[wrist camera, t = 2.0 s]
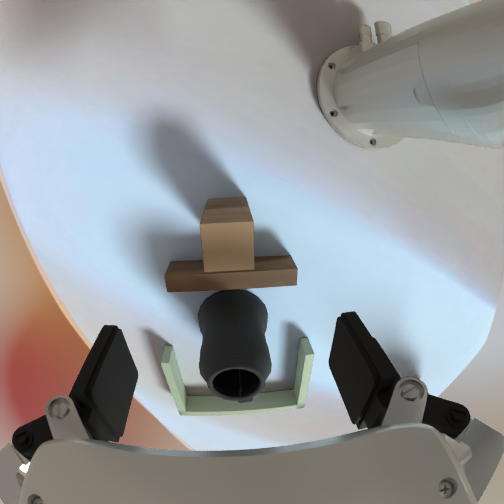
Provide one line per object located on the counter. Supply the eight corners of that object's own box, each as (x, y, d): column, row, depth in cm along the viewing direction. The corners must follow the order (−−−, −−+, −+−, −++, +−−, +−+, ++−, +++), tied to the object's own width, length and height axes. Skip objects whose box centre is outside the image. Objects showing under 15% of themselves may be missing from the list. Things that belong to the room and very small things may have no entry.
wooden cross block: (162, 202, 28) (137, 228, 20) (292, 196, 29) (317, 219, 21) (172, 276, 32) (157, 322, 23) (289, 270, 32) (309, 314, 24)
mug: (190, 294, 33) (177, 359, 22) (263, 283, 33) (279, 346, 23) (211, 361, 37) (209, 424, 27) (272, 353, 38) (286, 415, 27)
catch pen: (164, 345, 36) (160, 362, 32) (307, 337, 37) (314, 354, 34) (181, 399, 41) (180, 415, 38) (299, 392, 42) (303, 407, 39)
